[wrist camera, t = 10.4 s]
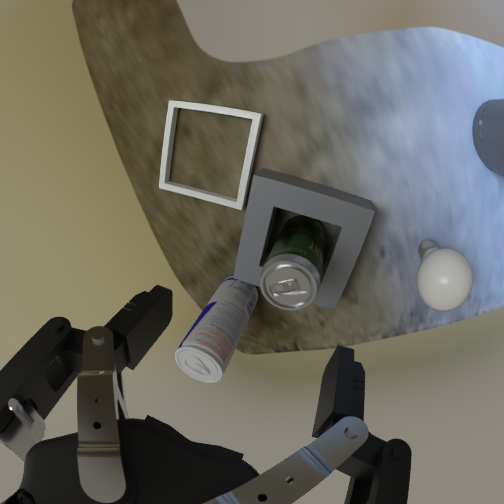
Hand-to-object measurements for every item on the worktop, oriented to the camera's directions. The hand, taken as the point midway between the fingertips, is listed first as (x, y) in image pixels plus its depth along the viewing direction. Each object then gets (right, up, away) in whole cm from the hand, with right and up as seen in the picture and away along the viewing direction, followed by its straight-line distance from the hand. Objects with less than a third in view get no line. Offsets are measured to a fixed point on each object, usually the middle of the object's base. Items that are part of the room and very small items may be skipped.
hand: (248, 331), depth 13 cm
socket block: (+6, +6, +22) cm, 24 cm away
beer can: (+6, +6, +22) cm, 24 cm away
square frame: (-5, +16, +21) cm, 26 cm away
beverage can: (-2, -2, +28) cm, 29 cm away
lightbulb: (+22, +4, +18) cm, 29 cm away
